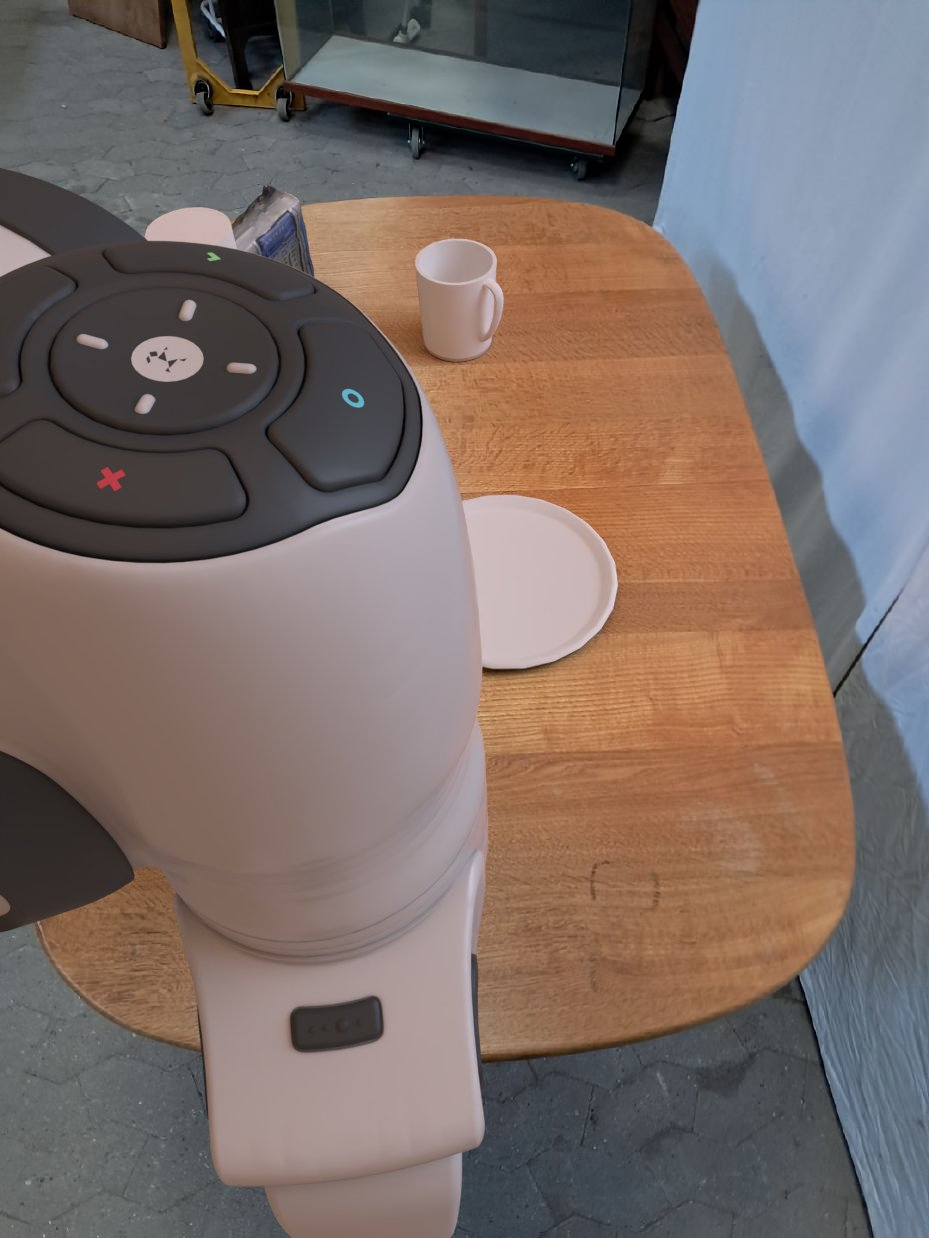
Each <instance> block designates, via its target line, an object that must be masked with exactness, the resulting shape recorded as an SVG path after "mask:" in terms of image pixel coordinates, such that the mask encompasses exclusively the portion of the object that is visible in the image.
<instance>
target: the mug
mask: <svg viewBox="0 0 929 1238" xmlns="http://www.w3.org/2000/svg"><path fill="white" fill-rule="evenodd" d="M497 265H498V258H497V256H496V253H495V252H494V251H493V249H491V248H490V247H489V246H488V245H485V244H484V243H482V242H479V241H477V240H473V239H468V238H448V239H447V238H446V239H441V240H437V241H434V242H431V243H429V244H427V245H426V246H425V247H423V248H422V249H421V250H420V251H419V252H418V253H417V255H416V256H415V260H414V269H415V278H416V286H417V295H418V305H419V313H420V321H421V322H420V323H421V329H422V340H423V343H424V347H425V348H426V350H427V351H428V352H429V353H430V354H431V355H432V356H434V357H435V358H437V359H439V360H442V361H446V362H450V363H462V362H469V361H473V360H475V359H478V358H479V357H482V356H483V355H484V354H485V353H486V352H487V351H488V350H489V349H490V347H491V345H492V342H493V336H494V334H495V333H496V331H497V329H498V327H499V324H500V322H501V320H502V314H503V311H504V303H505V302H504V300H505V296H504V293H503V289H502V288H501V286H500V284H499V283H498V282H497Z"/></svg>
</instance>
